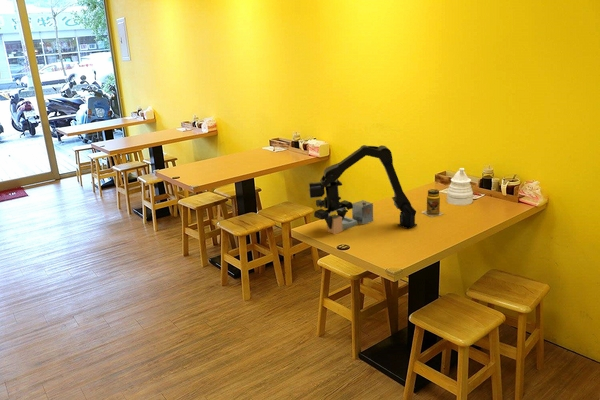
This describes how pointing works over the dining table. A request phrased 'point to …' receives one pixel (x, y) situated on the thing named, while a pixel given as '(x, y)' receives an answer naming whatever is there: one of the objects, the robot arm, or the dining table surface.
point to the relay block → (336, 224)
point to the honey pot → (460, 189)
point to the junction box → (362, 212)
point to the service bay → (348, 223)
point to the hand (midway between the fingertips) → (335, 226)
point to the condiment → (433, 203)
